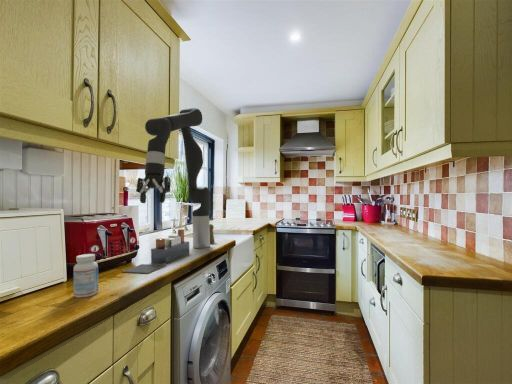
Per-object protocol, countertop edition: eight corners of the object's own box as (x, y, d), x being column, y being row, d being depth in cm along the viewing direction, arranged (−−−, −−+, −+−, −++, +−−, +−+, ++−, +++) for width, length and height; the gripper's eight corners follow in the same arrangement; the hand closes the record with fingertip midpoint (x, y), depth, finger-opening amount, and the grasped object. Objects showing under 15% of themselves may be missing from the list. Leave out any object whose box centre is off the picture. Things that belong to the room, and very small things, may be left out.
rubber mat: (141, 265, 111) (141, 264, 111) (165, 266, 109) (165, 265, 109) (122, 272, 101) (122, 271, 101) (147, 273, 98) (147, 272, 98)
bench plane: (176, 253, 134) (176, 229, 134) (189, 253, 132) (188, 229, 132) (150, 263, 114) (150, 234, 114) (165, 264, 112) (165, 235, 112)
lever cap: (171, 243, 128) (171, 234, 128) (180, 243, 126) (180, 235, 126) (161, 246, 120) (161, 237, 120) (171, 246, 119) (171, 237, 119)
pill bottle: (84, 290, 81) (83, 253, 82) (103, 290, 81) (102, 253, 81) (68, 298, 75) (67, 257, 75) (88, 298, 75) (88, 257, 75)
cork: (212, 243, 161) (212, 224, 161) (202, 243, 162) (202, 224, 162) (216, 241, 167) (215, 223, 167) (206, 241, 168) (206, 223, 168)
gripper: (175, 165, 114) (172, 203, 112) (146, 167, 118) (142, 204, 115) (165, 160, 107) (162, 201, 104) (134, 162, 111) (130, 201, 108)
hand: (152, 202), depth 110 cm, fingers open, 8 cm apart
